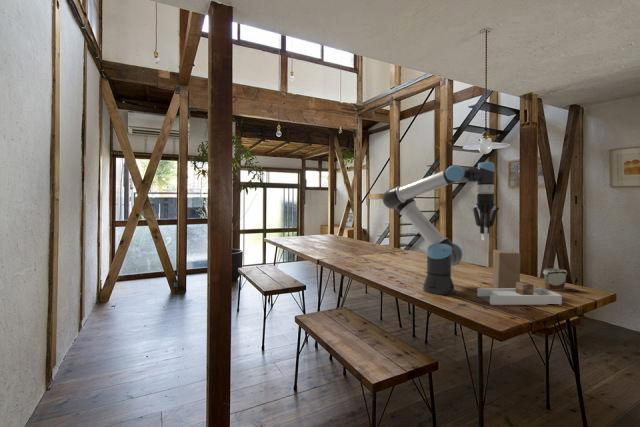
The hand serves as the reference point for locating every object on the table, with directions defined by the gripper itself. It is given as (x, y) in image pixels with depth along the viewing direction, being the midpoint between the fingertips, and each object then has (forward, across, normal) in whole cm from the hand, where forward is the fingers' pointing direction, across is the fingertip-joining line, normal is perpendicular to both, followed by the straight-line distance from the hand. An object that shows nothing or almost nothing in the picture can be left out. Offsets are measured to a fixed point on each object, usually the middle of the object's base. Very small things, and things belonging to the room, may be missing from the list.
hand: (484, 240), depth 161 cm
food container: (+27, +40, +6) cm, 48 cm away
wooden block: (+27, +14, +4) cm, 30 cm away
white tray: (+26, +9, -14) cm, 31 cm away
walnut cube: (+23, +12, -14) cm, 30 cm away
